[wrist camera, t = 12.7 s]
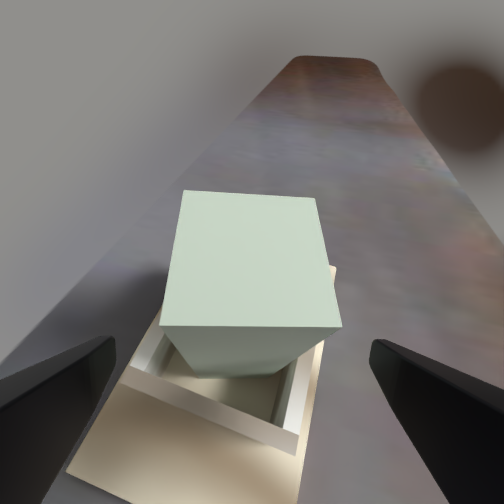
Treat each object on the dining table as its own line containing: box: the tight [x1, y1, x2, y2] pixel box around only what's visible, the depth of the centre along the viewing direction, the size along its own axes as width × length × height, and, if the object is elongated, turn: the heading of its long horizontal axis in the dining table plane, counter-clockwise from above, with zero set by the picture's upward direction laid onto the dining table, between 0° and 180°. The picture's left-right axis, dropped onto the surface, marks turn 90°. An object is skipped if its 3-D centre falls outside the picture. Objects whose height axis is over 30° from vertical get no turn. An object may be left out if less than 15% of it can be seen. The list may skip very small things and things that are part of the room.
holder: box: [65, 265, 336, 504], centre depth 16 cm, size 18×12×5 cm, turn 161°
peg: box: [159, 190, 342, 379], centre depth 12 cm, size 4×4×12 cm
